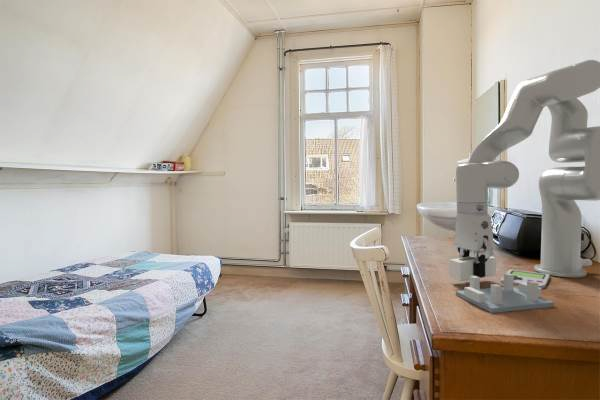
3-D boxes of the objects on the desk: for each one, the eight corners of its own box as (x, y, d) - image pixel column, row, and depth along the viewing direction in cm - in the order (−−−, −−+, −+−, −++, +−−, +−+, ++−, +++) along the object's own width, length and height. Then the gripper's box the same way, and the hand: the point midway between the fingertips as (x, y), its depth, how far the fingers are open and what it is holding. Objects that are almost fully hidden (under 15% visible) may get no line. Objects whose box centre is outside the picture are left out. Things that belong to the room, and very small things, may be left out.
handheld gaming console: (499, 278, 96) (509, 268, 107) (499, 284, 96) (509, 273, 107) (544, 285, 89) (549, 273, 101) (543, 291, 89) (549, 278, 101)
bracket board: (512, 290, 89) (512, 270, 89) (555, 306, 77) (555, 284, 77) (454, 295, 86) (455, 275, 86) (490, 312, 74) (491, 289, 74)
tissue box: (484, 271, 100) (484, 252, 99) (496, 275, 96) (495, 255, 95) (449, 277, 96) (449, 257, 96) (460, 281, 92) (460, 260, 92)
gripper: (508, 210, 87) (508, 282, 88) (463, 205, 104) (464, 266, 105) (481, 212, 86) (482, 285, 87) (441, 207, 102) (442, 268, 103)
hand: (472, 273), depth 96 cm, fingers closed on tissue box, 4 cm apart
